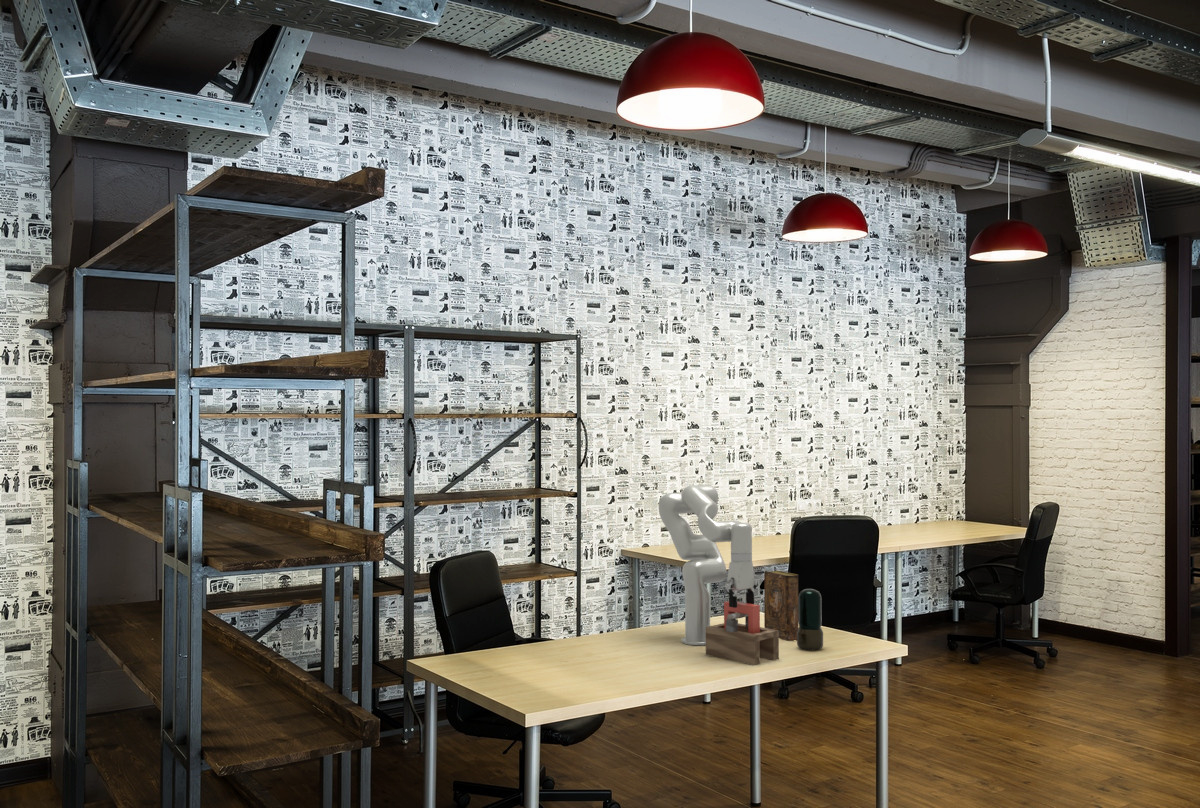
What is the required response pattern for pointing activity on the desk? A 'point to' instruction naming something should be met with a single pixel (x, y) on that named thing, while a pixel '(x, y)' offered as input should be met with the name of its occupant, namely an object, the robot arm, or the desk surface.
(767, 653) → the tan hollow frame
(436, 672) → the desk surface
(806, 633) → the lamp
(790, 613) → the book
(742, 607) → the red arch block
